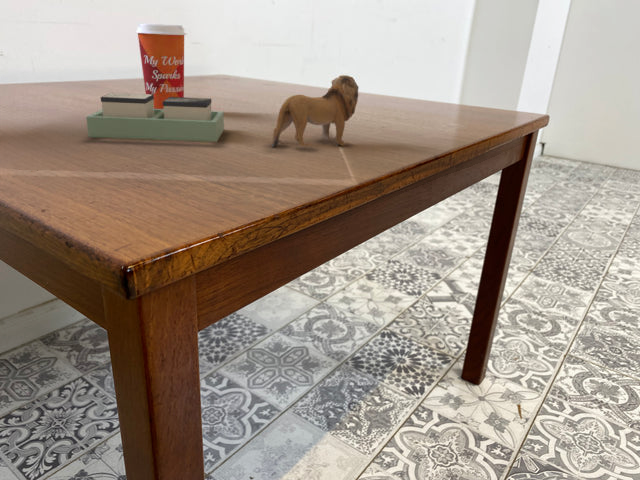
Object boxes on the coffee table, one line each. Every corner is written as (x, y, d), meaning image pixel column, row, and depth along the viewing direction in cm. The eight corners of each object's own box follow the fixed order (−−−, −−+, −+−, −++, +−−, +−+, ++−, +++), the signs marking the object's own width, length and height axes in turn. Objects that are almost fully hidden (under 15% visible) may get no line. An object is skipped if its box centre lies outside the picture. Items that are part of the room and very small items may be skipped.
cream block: (104, 132, 68) (100, 97, 66) (114, 126, 72) (111, 92, 70) (148, 134, 68) (145, 98, 66) (155, 127, 72) (153, 94, 71)
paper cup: (145, 119, 82) (137, 23, 77) (139, 111, 89) (132, 22, 83) (194, 118, 85) (191, 26, 80) (185, 110, 92) (181, 25, 86)
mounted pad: (164, 136, 68) (162, 101, 67) (171, 129, 73) (169, 96, 71) (207, 137, 69) (206, 103, 67) (212, 131, 73) (211, 98, 71)
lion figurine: (337, 136, 77) (341, 73, 74) (364, 142, 74) (369, 76, 70) (259, 147, 68) (259, 75, 64) (286, 155, 64) (288, 80, 61)
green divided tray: (216, 145, 67) (216, 121, 66) (89, 141, 66) (86, 116, 65) (224, 133, 75) (223, 111, 74) (109, 128, 74) (107, 106, 73)
